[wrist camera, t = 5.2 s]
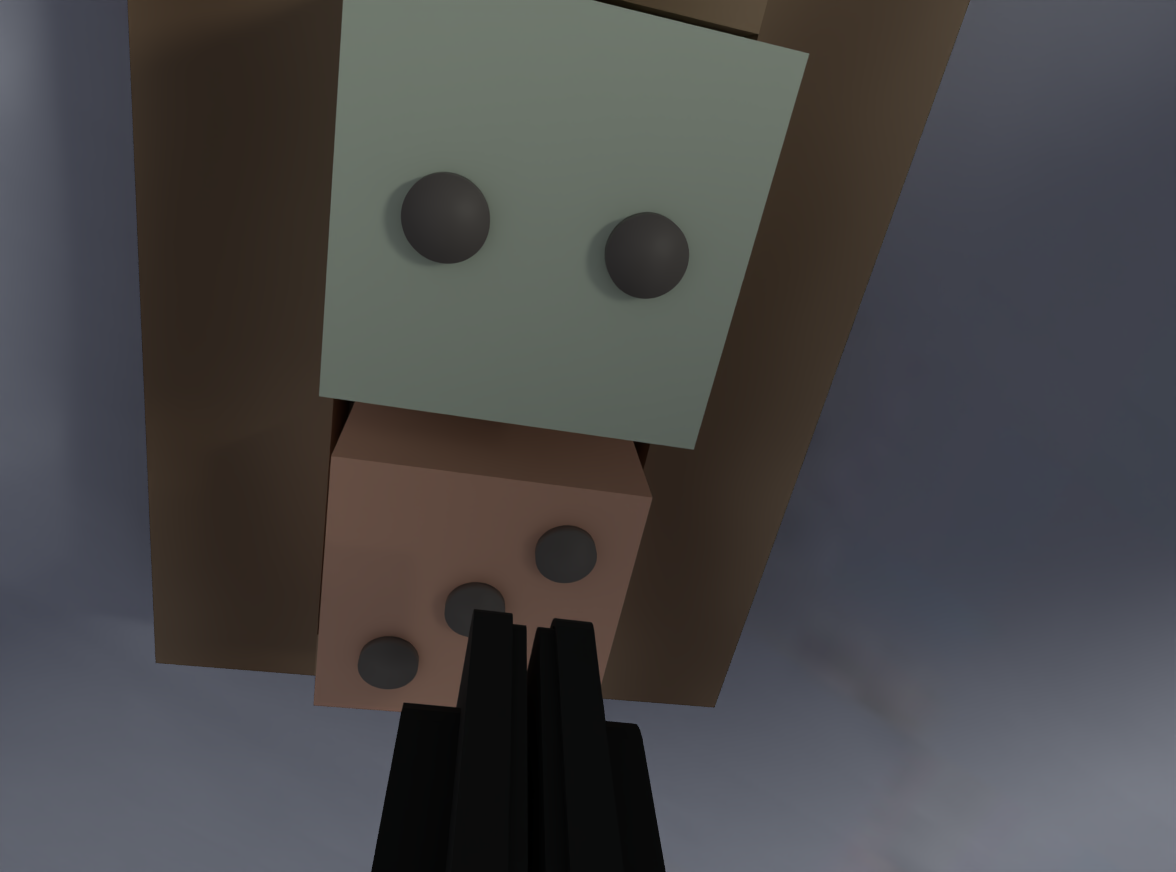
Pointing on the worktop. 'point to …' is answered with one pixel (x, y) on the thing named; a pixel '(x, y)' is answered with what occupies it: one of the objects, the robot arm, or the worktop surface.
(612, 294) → the two-pip tile
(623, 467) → the three-pip tile
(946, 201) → the worktop surface
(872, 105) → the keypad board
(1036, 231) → the worktop surface
